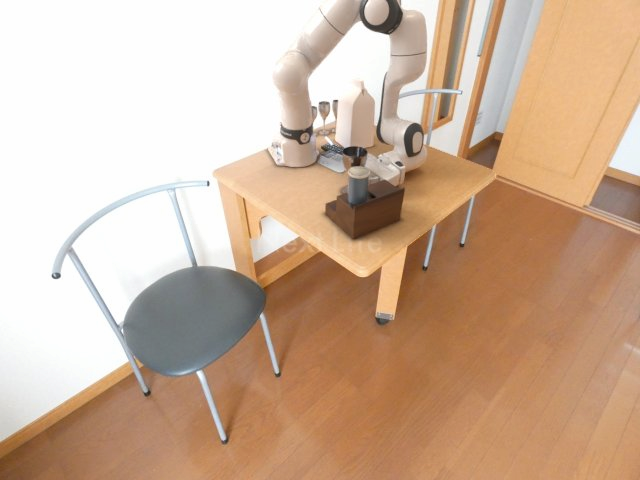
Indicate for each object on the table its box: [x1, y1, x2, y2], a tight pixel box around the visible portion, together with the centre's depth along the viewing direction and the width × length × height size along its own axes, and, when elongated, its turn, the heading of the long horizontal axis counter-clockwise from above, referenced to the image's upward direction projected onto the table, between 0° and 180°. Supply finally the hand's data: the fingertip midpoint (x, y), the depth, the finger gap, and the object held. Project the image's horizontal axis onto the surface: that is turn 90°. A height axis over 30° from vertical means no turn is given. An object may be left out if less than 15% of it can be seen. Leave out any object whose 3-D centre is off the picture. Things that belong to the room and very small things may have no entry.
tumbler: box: [347, 166, 370, 205], centre depth 103 cm, size 6×6×9 cm
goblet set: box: [311, 99, 339, 137], centre depth 163 cm, size 28×6×13 cm, turn 112°
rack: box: [324, 179, 406, 240], centre depth 113 cm, size 15×18×12 cm
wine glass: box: [341, 146, 369, 194], centre depth 123 cm, size 8×8×15 cm
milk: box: [334, 76, 376, 149], centre depth 149 cm, size 12×12×26 cm
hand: (356, 175), depth 124 cm, fingers open, 8 cm apart
